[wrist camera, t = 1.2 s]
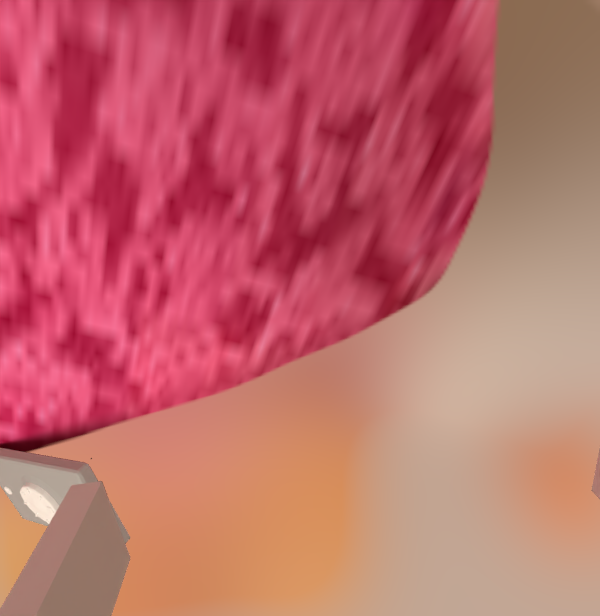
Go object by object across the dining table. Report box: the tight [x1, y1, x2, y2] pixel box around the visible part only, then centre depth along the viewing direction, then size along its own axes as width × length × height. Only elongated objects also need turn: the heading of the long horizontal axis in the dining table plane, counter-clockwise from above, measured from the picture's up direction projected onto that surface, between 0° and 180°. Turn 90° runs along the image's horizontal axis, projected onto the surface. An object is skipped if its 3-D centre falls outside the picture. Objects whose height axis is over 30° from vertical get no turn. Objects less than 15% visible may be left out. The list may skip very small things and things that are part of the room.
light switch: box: [0, 448, 130, 544], centre depth 38 cm, size 8×6×14 cm
